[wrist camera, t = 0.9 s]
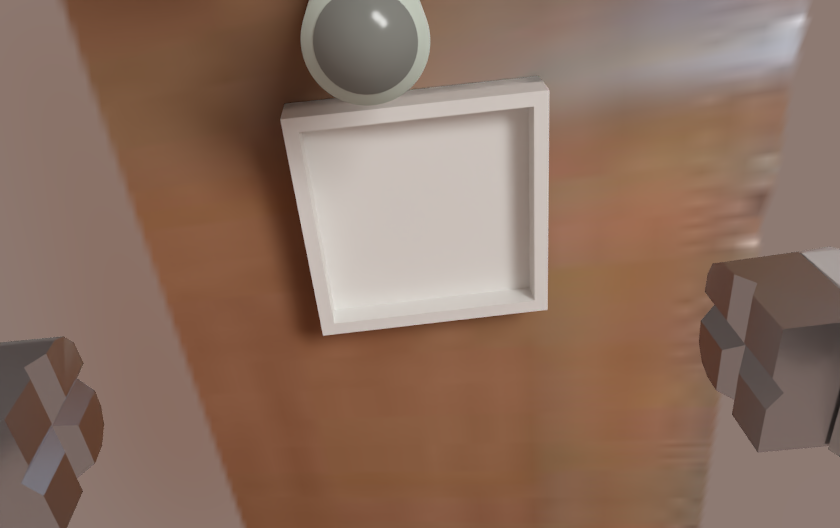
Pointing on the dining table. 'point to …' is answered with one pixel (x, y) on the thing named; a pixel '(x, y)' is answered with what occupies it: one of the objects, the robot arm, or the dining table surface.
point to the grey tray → (424, 203)
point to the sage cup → (365, 47)
